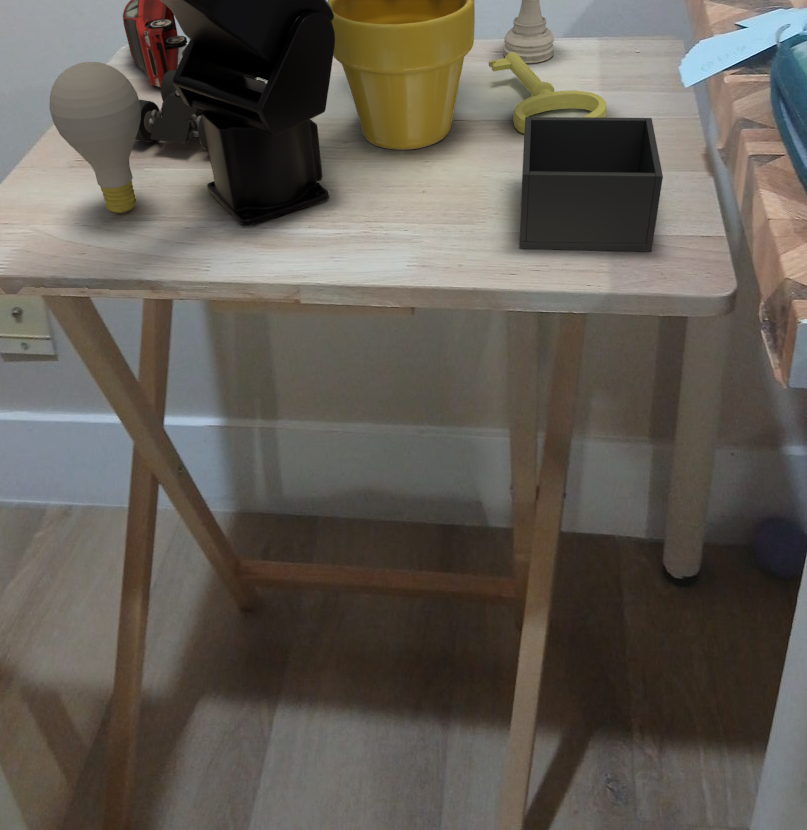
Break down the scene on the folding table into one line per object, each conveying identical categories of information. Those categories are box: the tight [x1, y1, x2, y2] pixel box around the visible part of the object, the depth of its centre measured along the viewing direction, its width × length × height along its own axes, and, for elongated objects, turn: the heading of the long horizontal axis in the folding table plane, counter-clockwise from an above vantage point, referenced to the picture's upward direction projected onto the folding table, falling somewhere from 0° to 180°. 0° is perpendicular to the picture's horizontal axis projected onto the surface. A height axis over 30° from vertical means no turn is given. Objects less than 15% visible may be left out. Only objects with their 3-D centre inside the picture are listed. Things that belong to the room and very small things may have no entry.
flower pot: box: [327, 0, 476, 151], centre depth 68 cm, size 10×10×10 cm
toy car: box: [122, 0, 188, 89], centre depth 83 cm, size 6×15×5 cm
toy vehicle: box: [135, 45, 267, 151], centre depth 72 cm, size 8×15×9 cm, turn 159°
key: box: [488, 52, 608, 135], centre depth 72 cm, size 7×12×2 cm, turn 36°
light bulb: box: [49, 61, 141, 215], centre depth 60 cm, size 6×6×10 cm
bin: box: [518, 116, 664, 252], centre depth 58 cm, size 8×8×5 cm
